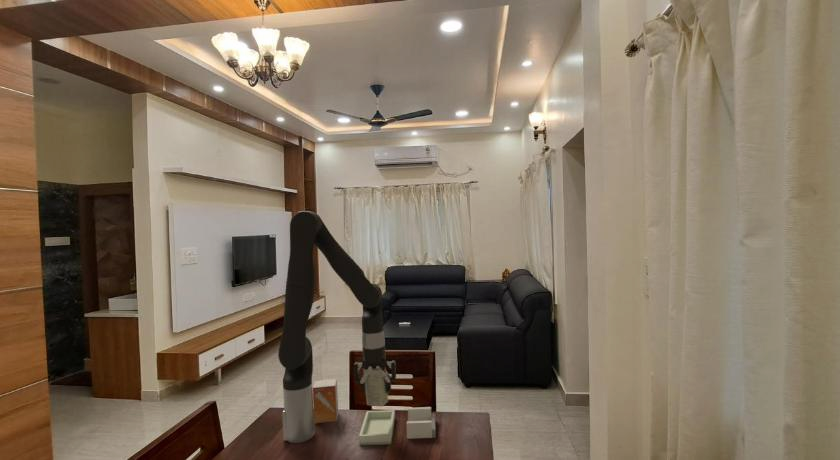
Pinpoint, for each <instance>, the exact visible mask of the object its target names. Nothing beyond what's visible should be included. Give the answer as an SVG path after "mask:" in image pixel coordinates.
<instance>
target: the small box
mask: <svg viewBox="0 0 840 460" xmlns="http://www.w3.org/2000/svg"><path fill="white" fill-rule="evenodd" d="M312 391H313V410H314V424H320V423H321V424H322V423H330V422H337V421H338V417H339V398H338V397H339V396H338V395H339V394H338V379H337V378H332V379H322V380H315V381H314V383H313V385H312Z"/></svg>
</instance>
